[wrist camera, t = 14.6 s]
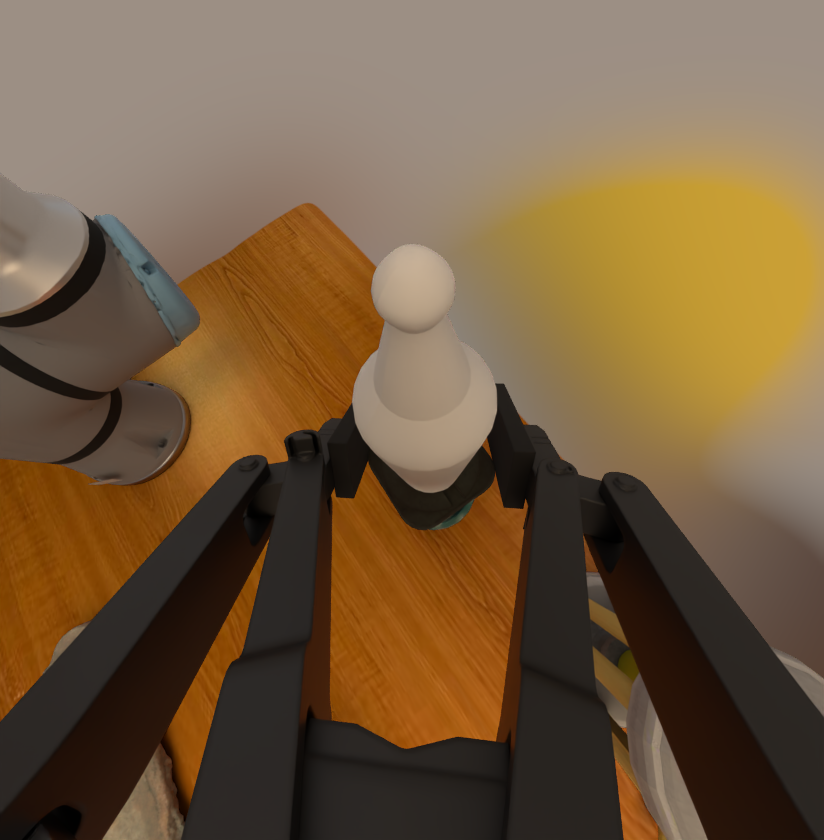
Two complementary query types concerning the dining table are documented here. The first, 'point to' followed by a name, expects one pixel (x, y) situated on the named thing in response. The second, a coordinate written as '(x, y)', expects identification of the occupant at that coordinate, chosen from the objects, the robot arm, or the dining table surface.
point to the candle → (424, 394)
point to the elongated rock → (143, 790)
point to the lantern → (653, 719)
